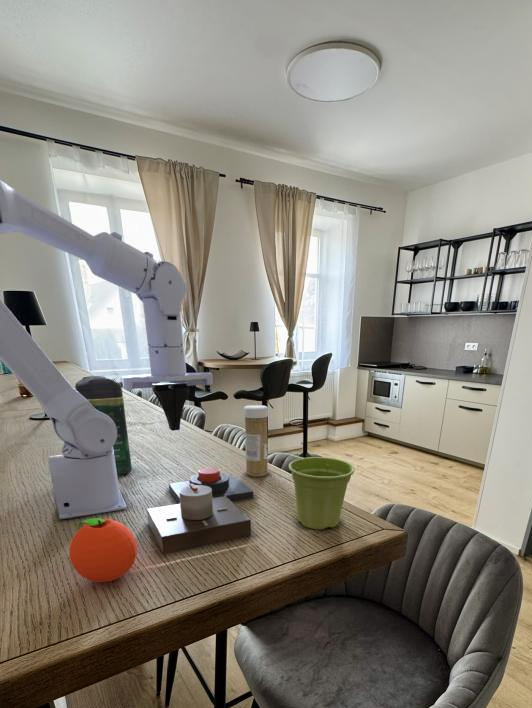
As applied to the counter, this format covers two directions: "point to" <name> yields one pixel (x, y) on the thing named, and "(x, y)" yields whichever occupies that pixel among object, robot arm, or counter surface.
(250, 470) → the spice jar
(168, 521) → the dimmer plate
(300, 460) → the plant pot
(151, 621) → the counter surface
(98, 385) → the coffee jar
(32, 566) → the counter surface
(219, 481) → the switch block
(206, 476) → the switch button
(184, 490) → the dial
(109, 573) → the clementine
